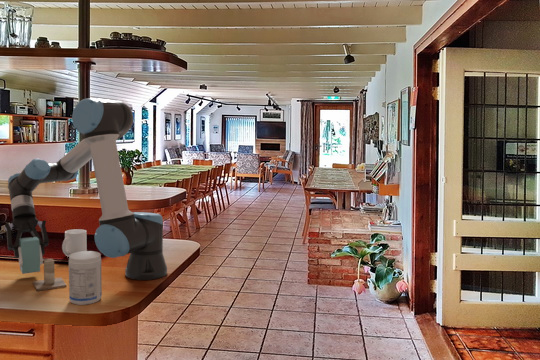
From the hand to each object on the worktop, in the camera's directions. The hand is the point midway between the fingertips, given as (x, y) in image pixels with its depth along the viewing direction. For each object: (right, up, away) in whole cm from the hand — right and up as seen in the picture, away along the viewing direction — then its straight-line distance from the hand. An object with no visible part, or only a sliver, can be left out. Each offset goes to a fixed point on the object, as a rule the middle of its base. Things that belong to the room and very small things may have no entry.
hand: (31, 263), depth 163 cm
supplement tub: (+25, -9, -16) cm, 31 cm away
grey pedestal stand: (+8, -6, -3) cm, 11 cm away
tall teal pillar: (-2, -3, +3) cm, 5 cm away
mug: (+2, -3, +30) cm, 31 cm away
